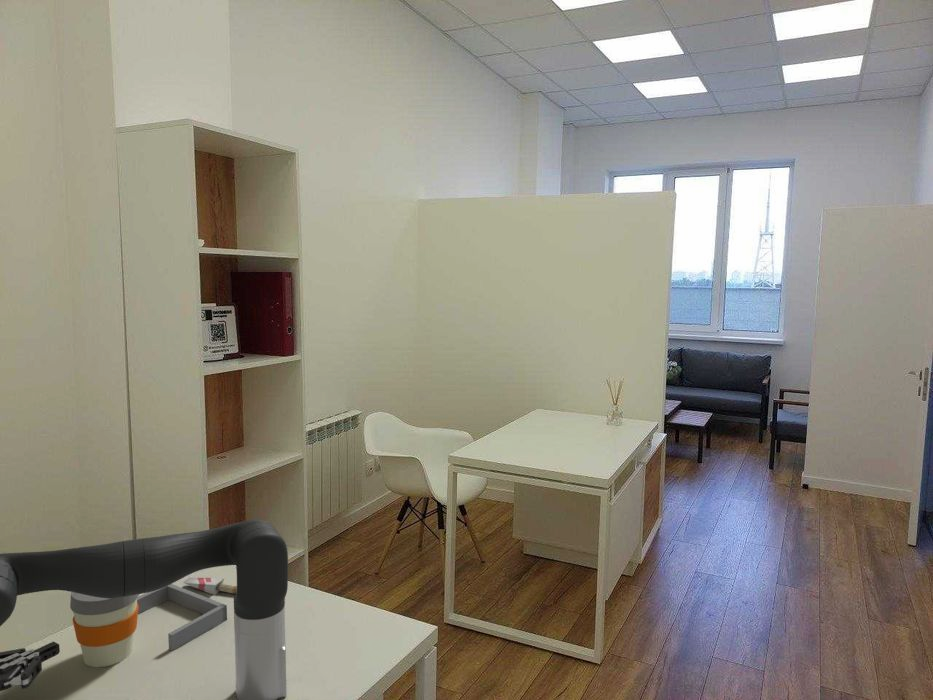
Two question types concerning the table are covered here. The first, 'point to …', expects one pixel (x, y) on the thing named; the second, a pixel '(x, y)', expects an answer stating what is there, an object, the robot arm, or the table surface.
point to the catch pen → (204, 605)
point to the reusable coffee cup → (104, 627)
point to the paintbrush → (211, 585)
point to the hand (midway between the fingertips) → (57, 647)
